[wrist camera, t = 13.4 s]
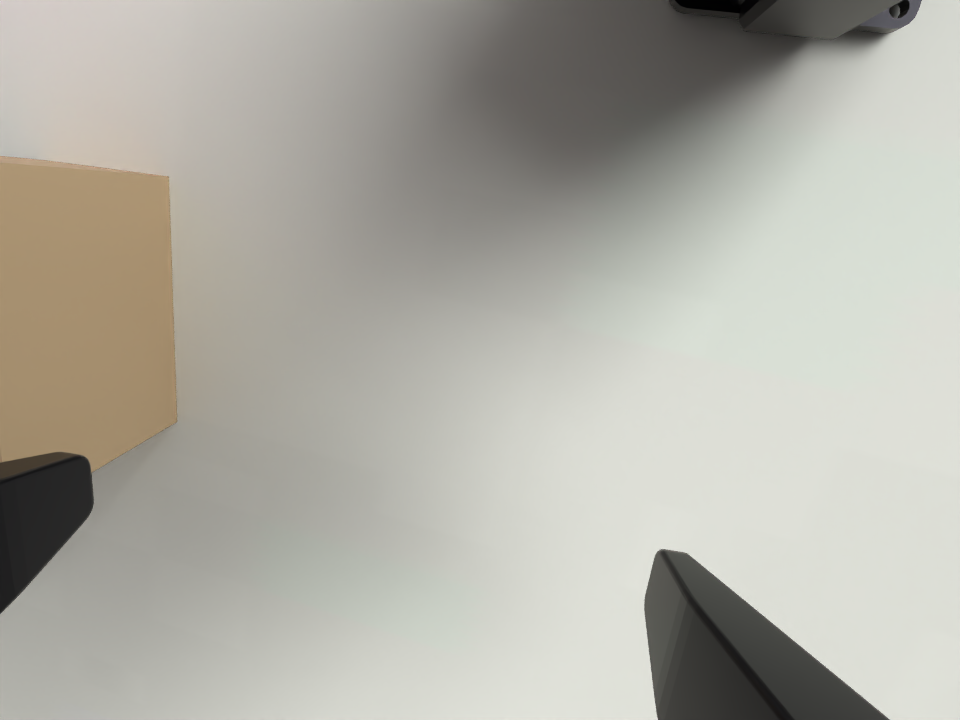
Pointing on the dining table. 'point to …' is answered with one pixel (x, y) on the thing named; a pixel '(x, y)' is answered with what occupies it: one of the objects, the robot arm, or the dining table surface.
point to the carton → (84, 310)
